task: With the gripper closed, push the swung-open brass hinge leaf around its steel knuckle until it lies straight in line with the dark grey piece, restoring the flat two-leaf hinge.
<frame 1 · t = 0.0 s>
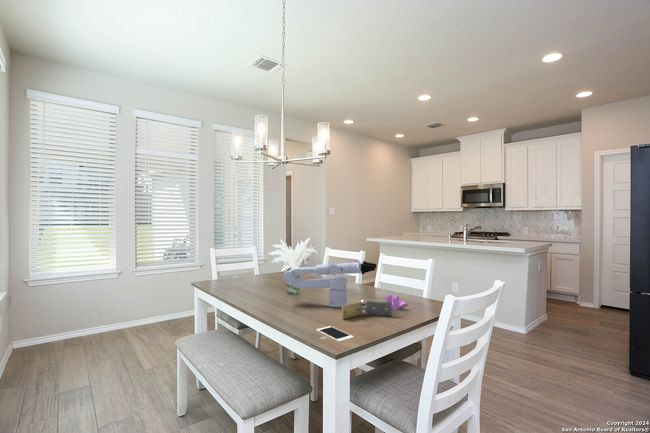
hand: (375, 266, 170), 22 cm above the table, tool horizontal, fingers open, 7 cm apart
cell phone: (334, 334, 133), on the table
bracket: (397, 306, 174), on the table
dark grey piece: (363, 314, 159), on the table
brass leaf: (354, 309, 155), point 3 cm above the table, hinge at 50.0°
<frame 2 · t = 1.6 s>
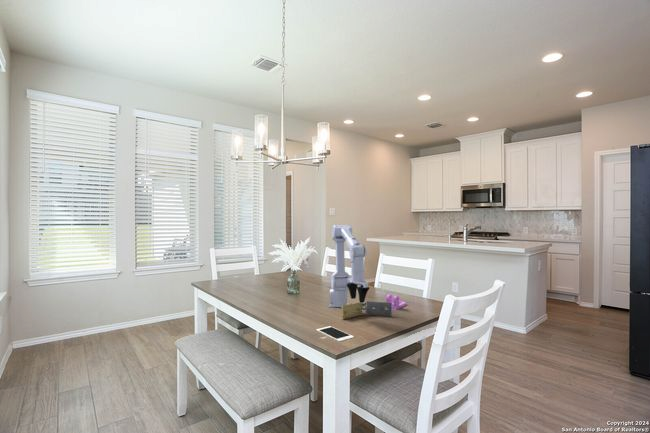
hand: (357, 300, 149), 9 cm above the table, tool pointing down, fingers open, 7 cm apart
nothing on the table moved.
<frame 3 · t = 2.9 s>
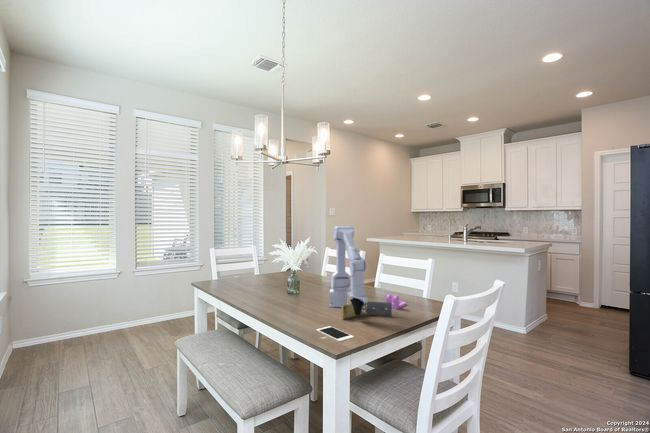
hand: (357, 314, 149), 3 cm above the table, tool pointing down, fingers closed
nothing on the table moved.
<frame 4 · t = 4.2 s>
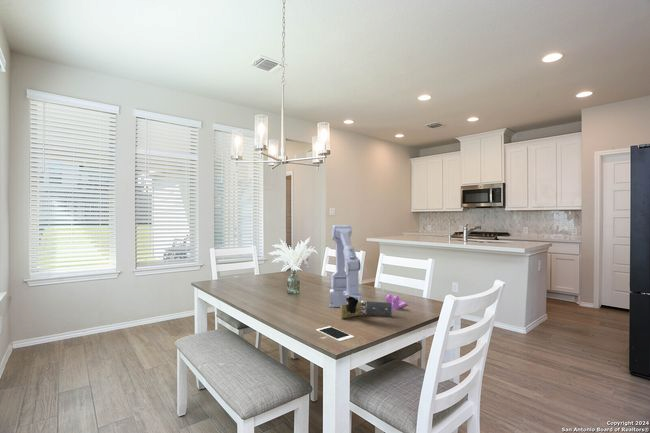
hand: (352, 312, 153), 2 cm above the table, tool pointing down, fingers closed
brass leaf: (353, 309, 155), point 3 cm above the table, hinge at 46.2°, touching gripper
everything else where it was.
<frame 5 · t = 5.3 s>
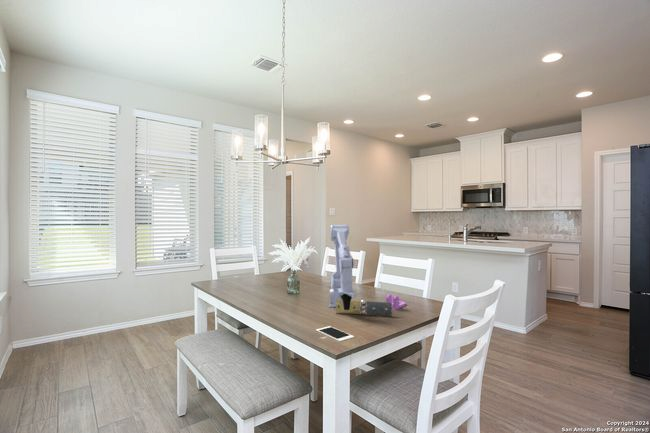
hand: (346, 309, 158), 3 cm above the table, tool pointing down, fingers closed, pressing on brass leaf
brass leaf: (351, 306, 160), point 3 cm above the table, hinge at 4.9°, touching gripper
everything else where it was.
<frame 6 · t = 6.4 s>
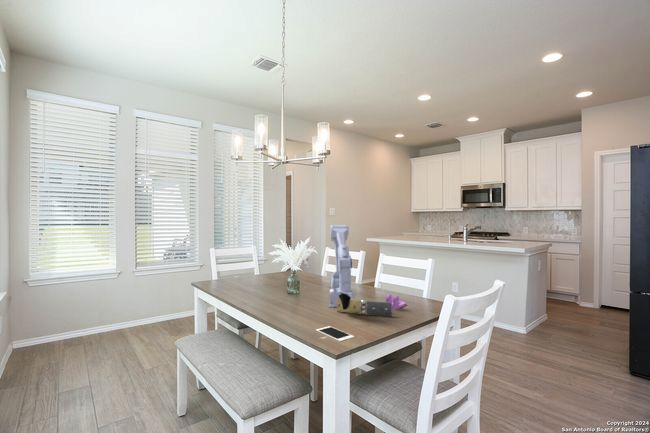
hand: (345, 309, 159), 3 cm above the table, tool pointing down, fingers closed
brass leaf: (351, 306, 161), point 3 cm above the table, hinge at -6.8°, touching gripper
everything else where it was.
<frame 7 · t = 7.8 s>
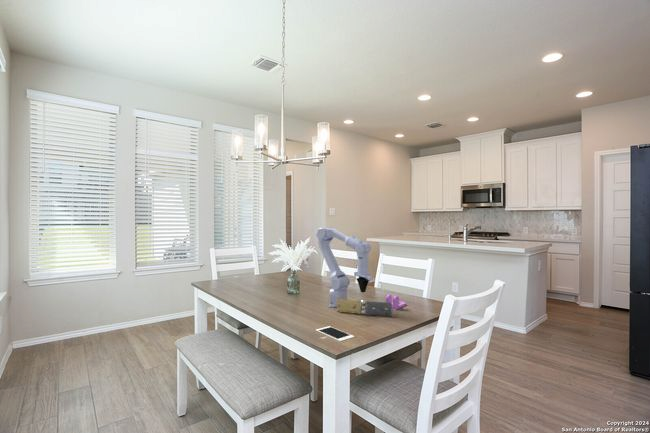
hand: (363, 292, 166), 9 cm above the table, tool pointing down, fingers closed
brass leaf: (351, 306, 161), point 3 cm above the table, hinge at -6.9°
everything else where it was.
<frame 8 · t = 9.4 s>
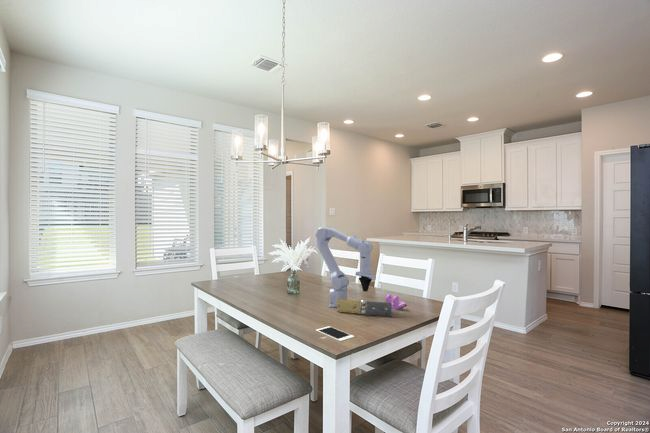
hand: (365, 291, 168), 9 cm above the table, tool pointing down, fingers closed
nothing on the table moved.
at the end: brass leaf at -7° (first picture: +50°) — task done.
